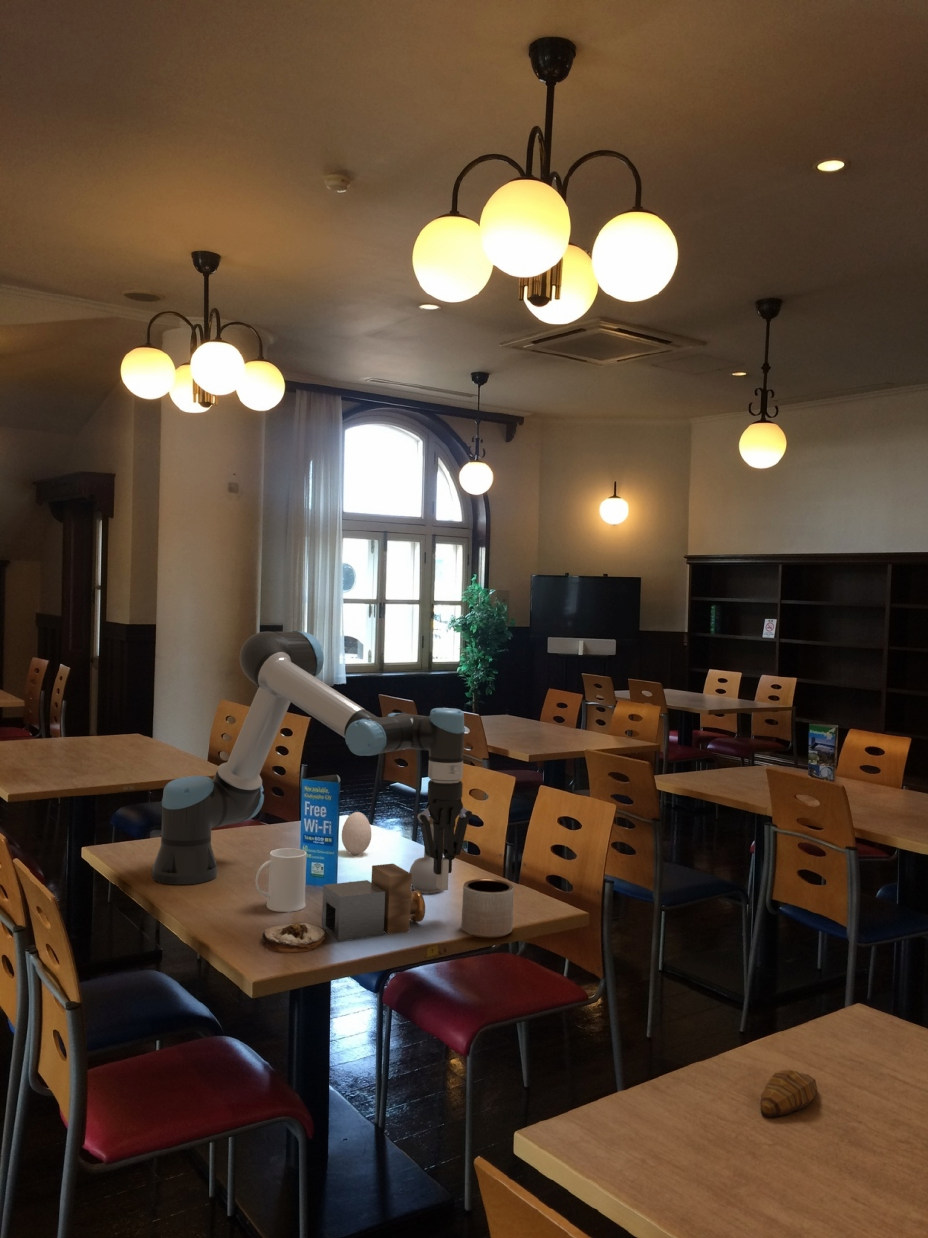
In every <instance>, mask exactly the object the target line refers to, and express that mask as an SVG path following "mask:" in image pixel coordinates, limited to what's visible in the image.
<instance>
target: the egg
mask: <svg viewBox="0 0 928 1238" xmlns="http://www.w3.org/2000/svg"><path fill="white" fill-rule="evenodd" d="M371 840H372V827H371V824H370V822H369V820H368V817H366V815H365V814H364V813H362V812H360V811H355V812H353V813H351V814H349V816H348V817H347V818H346V820H345V822H344V824H343V825H342V829H341V842H342V845H343V847H344V848H345V850H346V851H347V852H348V853H350V854H352V855H354V856H356V855H357V856H358V855H360V854H362V853H364V852H365V851H366V850H367V849H368V848H369V847H370V843H371Z"/></svg>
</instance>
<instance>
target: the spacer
mask: <svg viewBox="0 0 928 1238" xmlns="http://www.w3.org/2000/svg"><path fill="white" fill-rule="evenodd" d="M409 872H410V871H407V870H405V869H404V868H402V867H400V866H399V865H397V864H395V863H388V864H387V863H384V864H383V863H382V864H376V865H372V866H371V880H370V882H371V883H373V884H374V885H376V886H377V887H379V888H380V889H382V890H384V891H385V910H384V933H385V934H387V935H393V934H399V933H400V934H401V933H407V932H408V933H409V932H410V925H411V919H410V905H411V892H412V884H411V881H412V874H411V873H409Z"/></svg>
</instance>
